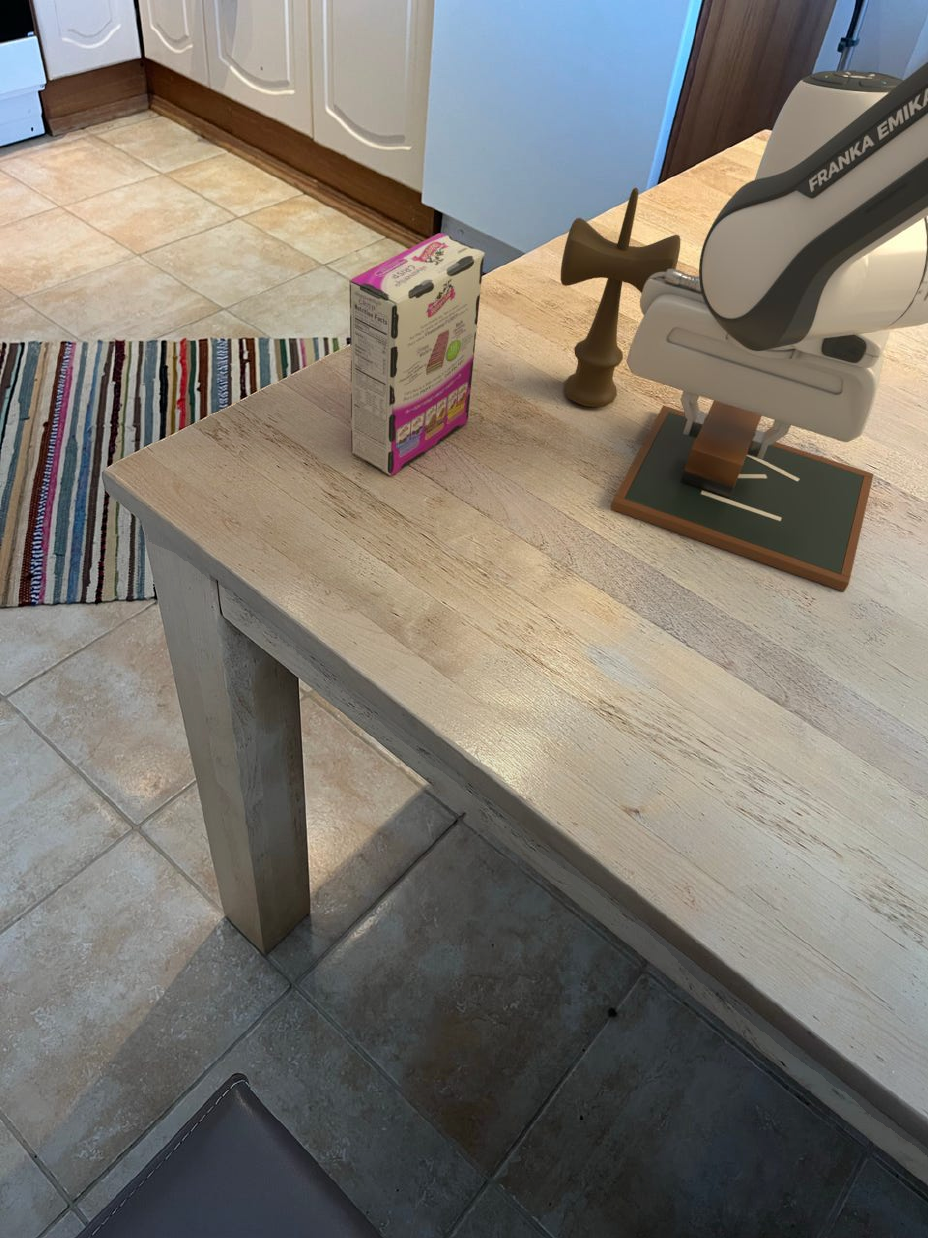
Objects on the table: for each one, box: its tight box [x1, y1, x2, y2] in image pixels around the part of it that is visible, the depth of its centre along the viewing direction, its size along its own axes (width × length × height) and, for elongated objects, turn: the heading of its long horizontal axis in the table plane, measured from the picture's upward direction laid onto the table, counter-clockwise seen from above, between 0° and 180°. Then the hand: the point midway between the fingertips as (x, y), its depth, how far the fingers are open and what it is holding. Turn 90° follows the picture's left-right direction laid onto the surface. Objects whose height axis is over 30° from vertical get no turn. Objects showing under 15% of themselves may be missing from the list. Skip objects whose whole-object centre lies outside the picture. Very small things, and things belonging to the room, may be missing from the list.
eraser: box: [681, 400, 763, 498], centre depth 84 cm, size 4×10×4 cm, turn 156°
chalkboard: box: [610, 405, 874, 592], centre depth 83 cm, size 20×16×1 cm
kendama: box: [560, 187, 682, 408], centre depth 84 cm, size 6×10×20 cm, turn 76°
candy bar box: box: [348, 232, 486, 477], centre depth 78 cm, size 11×5×16 cm, turn 143°
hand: (724, 443), depth 84 cm, fingers closed on eraser, 4 cm apart
